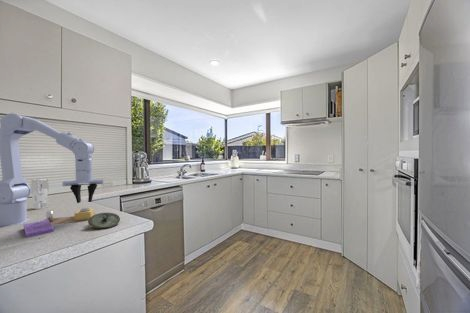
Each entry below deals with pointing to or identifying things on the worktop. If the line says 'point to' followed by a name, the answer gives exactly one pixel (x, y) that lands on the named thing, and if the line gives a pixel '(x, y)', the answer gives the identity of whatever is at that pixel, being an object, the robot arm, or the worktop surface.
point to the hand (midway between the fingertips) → (84, 202)
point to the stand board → (64, 218)
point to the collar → (83, 215)
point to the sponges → (38, 228)
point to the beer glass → (39, 193)
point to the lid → (103, 220)
